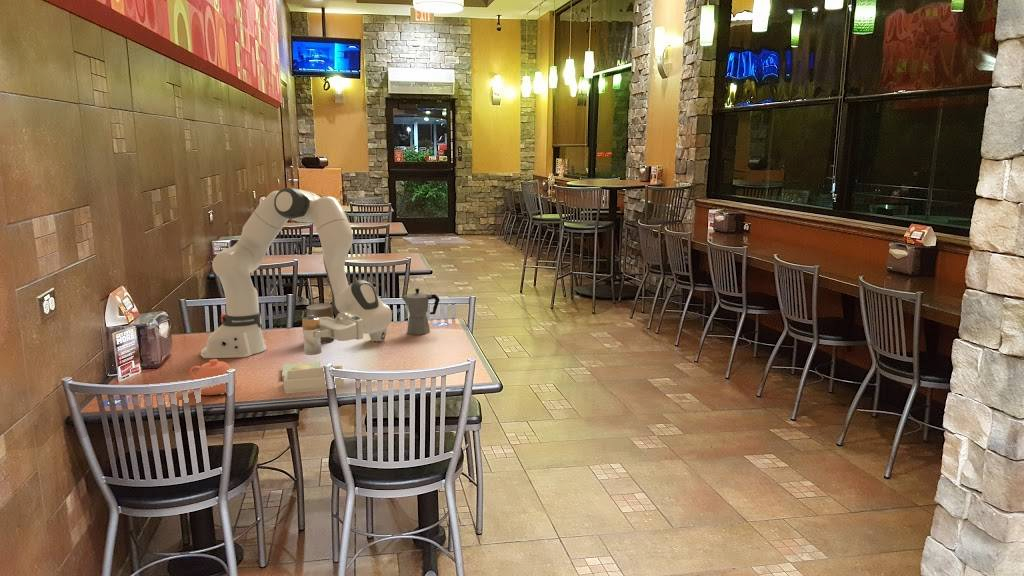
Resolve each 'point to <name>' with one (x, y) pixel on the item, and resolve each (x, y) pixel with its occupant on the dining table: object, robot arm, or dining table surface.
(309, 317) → the battery cell
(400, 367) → the dining table surface
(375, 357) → the dining table surface
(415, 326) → the coffeepot
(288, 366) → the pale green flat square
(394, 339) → the dining table surface
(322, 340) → the pillar candle
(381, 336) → the cup
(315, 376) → the trough
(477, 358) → the dining table surface
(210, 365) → the sugar bowl
